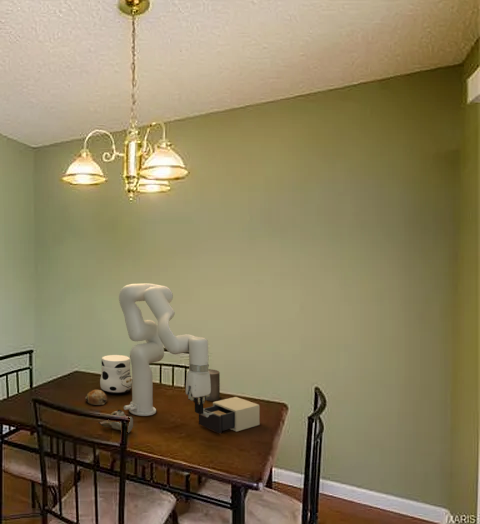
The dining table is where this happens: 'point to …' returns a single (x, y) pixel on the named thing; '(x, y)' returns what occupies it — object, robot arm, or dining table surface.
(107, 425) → the ceramic sculpture
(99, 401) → the bread roll
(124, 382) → the milk container
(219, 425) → the drawer
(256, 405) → the cabinet
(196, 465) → the dining table surface
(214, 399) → the pillar candle
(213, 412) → the block
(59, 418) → the dining table surface
